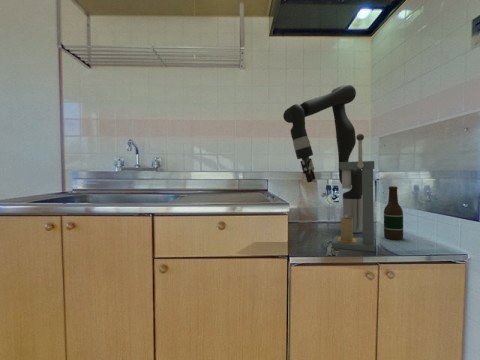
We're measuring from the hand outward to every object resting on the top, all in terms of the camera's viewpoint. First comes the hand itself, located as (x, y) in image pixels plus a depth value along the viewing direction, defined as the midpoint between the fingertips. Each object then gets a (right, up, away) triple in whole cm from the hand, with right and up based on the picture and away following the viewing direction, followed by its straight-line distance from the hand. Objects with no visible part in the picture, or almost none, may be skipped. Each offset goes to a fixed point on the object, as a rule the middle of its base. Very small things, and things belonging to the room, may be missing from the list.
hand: (311, 180), depth 125 cm
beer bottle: (+37, -27, -2) cm, 46 cm away
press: (+14, -27, -14) cm, 33 cm away
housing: (+11, -25, -13) cm, 30 cm away
